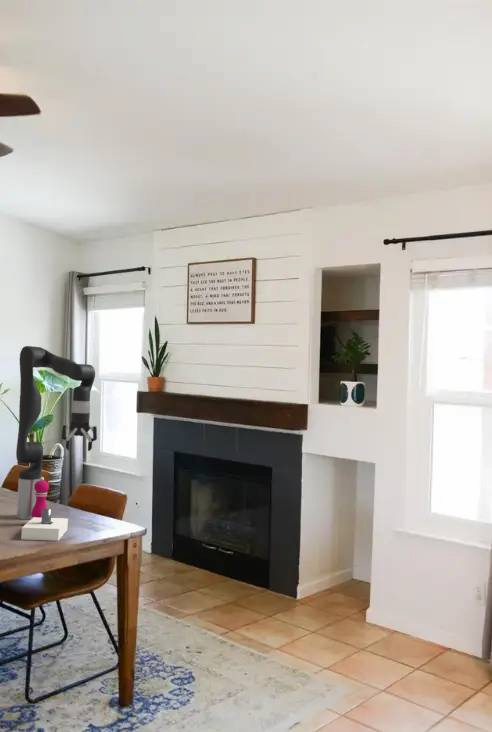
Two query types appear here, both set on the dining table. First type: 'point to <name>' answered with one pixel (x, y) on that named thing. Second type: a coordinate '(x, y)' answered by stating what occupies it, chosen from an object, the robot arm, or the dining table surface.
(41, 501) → the pepper mill
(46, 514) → the peg
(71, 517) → the dining table surface
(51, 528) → the hole block
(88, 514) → the dining table surface
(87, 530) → the dining table surface
